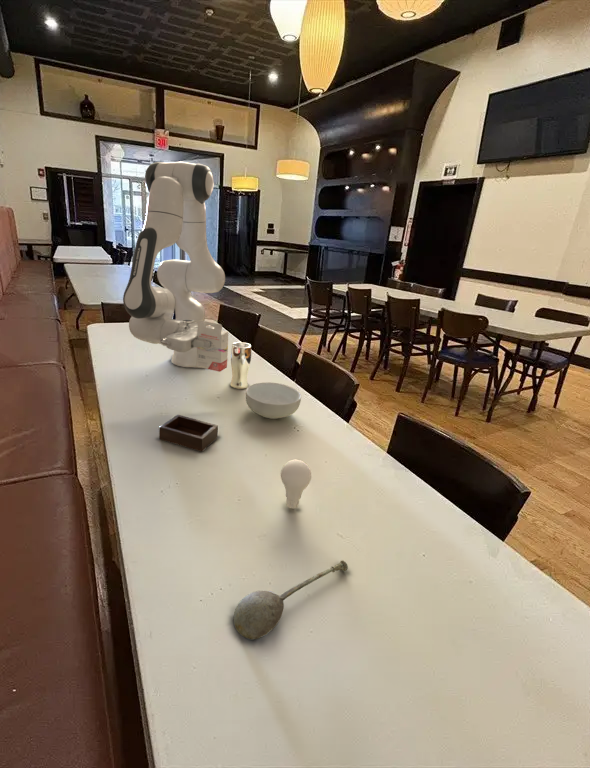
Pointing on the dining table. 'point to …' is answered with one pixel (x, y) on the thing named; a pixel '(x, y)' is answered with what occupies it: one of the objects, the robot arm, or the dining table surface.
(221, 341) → the ink cartridge box
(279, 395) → the cereal bowl
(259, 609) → the soupspoon
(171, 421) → the tray
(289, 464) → the lightbulb
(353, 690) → the dining table surface
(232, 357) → the beer glass
